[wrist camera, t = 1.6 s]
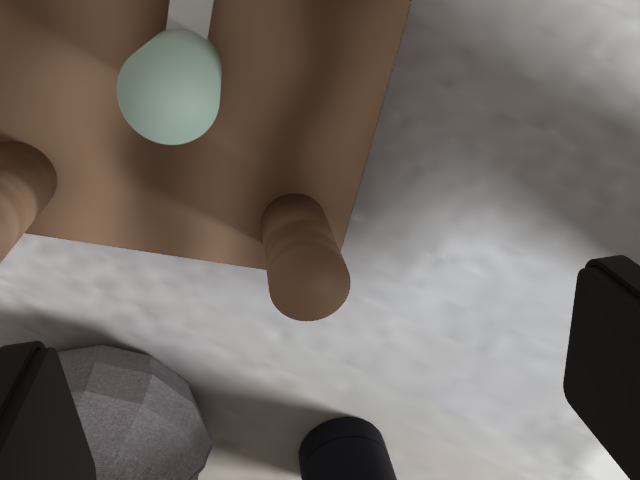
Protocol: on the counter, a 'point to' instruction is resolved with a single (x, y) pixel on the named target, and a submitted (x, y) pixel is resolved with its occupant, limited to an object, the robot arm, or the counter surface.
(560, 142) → the counter surface
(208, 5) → the hinged leg
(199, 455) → the small grey backpack
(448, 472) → the counter surface
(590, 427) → the robot arm
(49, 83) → the wooden peg stand
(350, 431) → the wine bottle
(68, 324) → the counter surface
